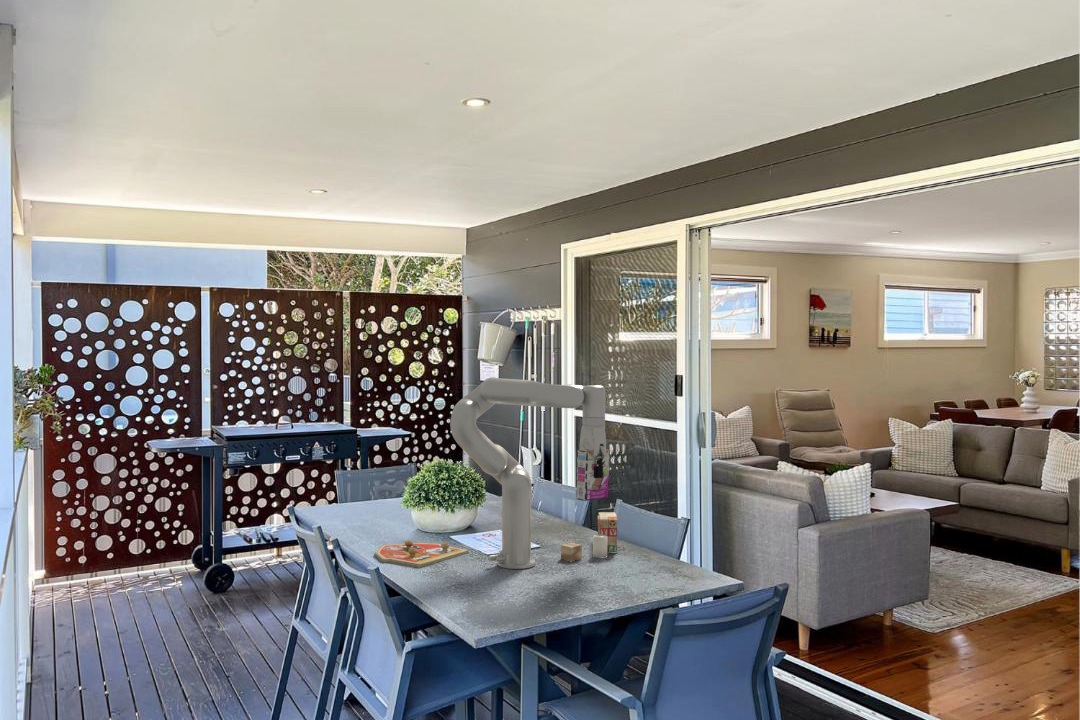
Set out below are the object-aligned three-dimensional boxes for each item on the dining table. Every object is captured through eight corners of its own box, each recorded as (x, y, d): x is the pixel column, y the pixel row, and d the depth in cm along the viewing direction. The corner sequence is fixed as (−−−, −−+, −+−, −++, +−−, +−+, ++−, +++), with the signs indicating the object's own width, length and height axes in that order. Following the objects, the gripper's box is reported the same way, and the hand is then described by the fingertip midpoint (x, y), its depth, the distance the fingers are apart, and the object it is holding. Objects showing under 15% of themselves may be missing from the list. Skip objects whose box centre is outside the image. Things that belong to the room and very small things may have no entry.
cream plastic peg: (597, 558, 293) (597, 538, 293) (590, 555, 298) (590, 535, 298) (610, 557, 296) (610, 536, 296) (602, 554, 300) (602, 534, 300)
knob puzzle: (417, 570, 278) (417, 556, 278) (352, 558, 294) (352, 545, 294) (472, 552, 303) (472, 540, 303) (409, 542, 319) (409, 530, 319)
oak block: (571, 562, 289) (571, 547, 289) (560, 559, 292) (561, 544, 292) (581, 559, 292) (581, 545, 292) (571, 557, 296) (571, 542, 296)
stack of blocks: (597, 540, 323) (597, 507, 323) (614, 540, 322) (614, 507, 322) (599, 553, 301) (599, 518, 301) (617, 553, 301) (617, 518, 301)
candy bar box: (586, 501, 280) (587, 451, 280) (575, 499, 284) (576, 450, 283) (609, 498, 287) (610, 449, 287) (599, 496, 291) (599, 447, 291)
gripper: (570, 420, 291) (570, 474, 291) (598, 425, 276) (597, 481, 276) (589, 420, 295) (588, 472, 295) (617, 424, 279) (617, 479, 280)
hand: (593, 476), depth 285 cm, fingers closed on candy bar box, 5 cm apart
